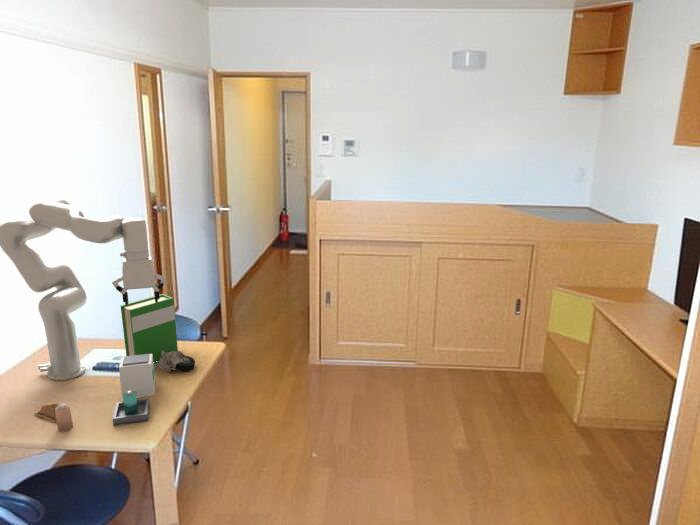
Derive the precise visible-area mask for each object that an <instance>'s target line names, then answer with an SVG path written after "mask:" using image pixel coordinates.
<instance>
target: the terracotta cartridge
mask: <svg viewBox="0 0 700 525" xmlns="http://www.w3.org/2000/svg"><path fill="white" fill-rule="evenodd" d="M60 404H61V405H59V406H57V407H56V408H55V413H56V419H57V422H56V424H57V431H59V432H68V431H70V430H71V429H73V427H74V426H73V424H74V423H73V418H72V412H71V410H72V409H71V406H70V404H67V403H60Z"/></svg>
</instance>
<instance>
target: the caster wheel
mask: <svg viewBox="0 0 700 525" xmlns="http://www.w3.org/2000/svg"><path fill="white" fill-rule="evenodd" d="M158 362H159V363H158V366H159V367H160V368H161V369H162V370H163V371H165V372H167V373H168V374H171V370H174V371H179V372H183V373H185V372H191V371H193V370H194V369H195V365H196V360H195V358H193V357H192V356H189V355H185V354H184V353H183V351H179V350H178V351H172V352H168V353H165V352H164V351H162V352H161V357H160V361H158Z"/></svg>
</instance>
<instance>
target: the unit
mask: <svg viewBox="0 0 700 525" xmlns="http://www.w3.org/2000/svg"><path fill="white" fill-rule="evenodd" d="M118 370H119V371H118V372H119V380H120V387H121V394H122V395H121V396H122V398H123V393H124V392H126V391H127V390H135V391H136V392H137V397H139V398H145V397H144V396H146V397H152V395H154V396H155V392H156V390H155V389H156V378H155V376H156V375H155V363H153V355H152V354H142V355H133V356H126V355H125V356H122V357H121V359H120V362H119V367H118Z"/></svg>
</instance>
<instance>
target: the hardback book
mask: <svg viewBox="0 0 700 525" xmlns="http://www.w3.org/2000/svg"><path fill="white" fill-rule="evenodd" d="M159 296H160V299H158V302H157V303H156V302H155V295H154V296H150V297H147V298H143V299H139V300H135V301H132V302H128V305H125V303H124V304H121V305H120V311H121V312H120V313H121V322H122V329H123V330H122V331H123V338H124V348H125V356H133V355H142V354H152V355H153V362H155V363H157V362H156V361H158V362H160V357H161V352H162V351H164V352H165V353H168V352H172V351H179V350H178V349H179V348H178V338H177V337H178V336H177V325H176V314H175V313H176V312H175V304H174V303H175V301H174V297H171V296H170V295H167V294H165V293H161V294H159Z"/></svg>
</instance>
